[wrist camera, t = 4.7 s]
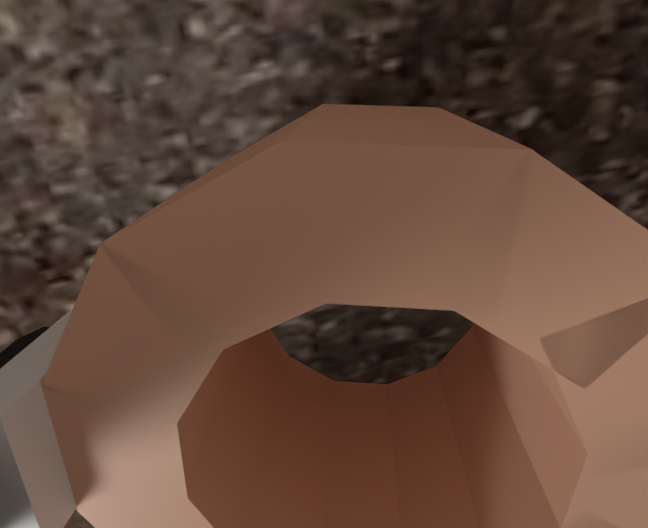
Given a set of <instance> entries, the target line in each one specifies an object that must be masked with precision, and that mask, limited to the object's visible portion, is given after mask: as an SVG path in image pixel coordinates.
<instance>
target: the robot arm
mask: <svg viewBox="0 0 648 528" xmlns="http://www.w3.org/2000/svg"><path fill="white" fill-rule="evenodd" d="M72 310H73V309H72ZM72 310H70V311H69V312H68V313H67V314H66V315H64V316H63V317H62V318H61V319H60V320H58V321H57V322H56V323H55V324H54V325H52V326H51V327H42V328H40V329H38V330H36V331H34V332H32V333H30V334H28V335H26V336H24V337H22V338H20V339H18V340H16V341H15V342H14V343H12V344H11V345H10V346H9V347H7V348H6V349H5V350H3V351H2V352H1V353H0V528H64V526H65V524H66V523H67V521H68V520H69V518H70V517H71V515H72V514H73V512H74V511H75V509H76V507H77V506H76V503H75V499H74V496H73V492H72V489H71V486H70V482H69V479H68V475H67V472H66V468H65V465H64V462H63V458H62V455H61V451H60V448H59V445H58V441H57V438H56V434H55V431H54V428H53V424H52V421H51V417H50V414H49V410H48V407H47V404H46V400H45V397H44V393H43V390H42V387H41V384H42V382H43V380H44V377H45V375H46V372H47V370H48V368H49V365H50V363H51V360H52V358H53V356H54V353H55V351H56V348H57V346H58V344H59V341H60V339H61V336H62V334H63V332H64V329H65V327H66V324H67V322H68V320H69V317H70V315H71V312H72Z"/></svg>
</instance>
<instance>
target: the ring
mask: <svg viewBox="0 0 648 528" xmlns="http://www.w3.org/2000/svg"><path fill="white" fill-rule="evenodd" d="M326 303H327V304H345V305H362V306H380V307H398V308H415V309H433V310H451V311H455V312H457V313H459V314H460V315H462V316H464V317H465V318H467V319H469V320H470V321H472V327H471V328H470V329H469V330H468V332H467V333H466V334H465V335H464V336H463V337H462V338H461V339H460V340H459V342H458V343H457V344H456V345H455V346H454V347H453V348H452V349H451V350H450V351H449V353H448V354H447V355H446V356H445V357H444V358H443V359H442V360H441V361H440V362H439V364H438V365H437V366H434V367H432V368H429V369H427V370H424V371H421V372H419V373H416V374H413V375H411V376H408V377H405V378H403V379H400V380H397V381H395V382H392V383H389V384H373V383H358V382H343V381H334V380H332V379H330V378H328V377H326V376H324V375H323V374H321V373H319V372H317V371H315V370H313V369H312V368H310V367H308V366H306V365H304V364H302V363H301V362H299V361H297V360H295V359H293V358H291V357H290V356H289V355H288V354H287V352H286V351H285V349H284V348H283V346H282V345H281V343H280V342H279V340H278V339H277V337H276V336H275V334H274V333H273V331H272V330H271V328H272V327H275V326H277V325H279V324H281V323H284V322H286V321H288V320H290V319H293V318H295V317H297V316H299V315H302V314H304V313H306V312H308V311H311V310H313V309H315V308H317V307H319V306H322V305H324V304H326ZM41 387H42V390H43V393H44V397H45V400H46V404H47V407H48V410H49V414H50V417H51V421H52V424H53V428H54V431H55V434H56V438H57V441H58V445H59V448H60V451H61V455H62V458H63V462H64V465H65V468H66V472H67V475H68V479H69V482H70V486H71V489H72V492H73V496H74V499H75V503H76V506H77V507H76V508H77V511H78V512H79V513H80V514H81V515H82V516H83V517H84V518H85V519H86V520H87V521H88V522H90V523H91V524H92V525H93V526H94V527H95V528H648V230H647V229H646V228H644V227H643V226H641V225H640V224H638V223H637V222H636V221H634V220H633V219H631V218H630V217H628V216H627V215H625V214H624V213H623V212H621V211H620V210H618V209H617V208H615V207H614V206H613V205H611V204H610V203H608V202H607V201H605V200H604V199H602V198H601V197H600V196H598V195H597V194H595V193H594V192H592V191H591V190H590V189H588V188H587V187H585V186H584V185H582V184H581V183H579V182H578V181H577V180H575V179H574V178H572V177H571V176H569V175H568V174H566V173H565V172H564V171H562V170H561V169H559V168H558V167H556V166H555V165H554V164H552V163H551V162H549V161H548V160H546V159H545V158H543V157H542V156H541V155H539V154H538V153H536V152H535V151H533V149H531V148H528V147H526V146H524V145H522V144H519V143H517V142H515V141H513V140H511V139H508V138H506V137H504V136H502V135H499V134H497V133H495V132H493V131H490V130H488V129H486V128H484V127H482V126H479V125H477V124H475V123H473V122H470V121H468V120H466V119H464V118H462V117H459V116H457V115H455V114H453V113H450V112H448V111H446V110H444V109H442V108H439V107H410V106H377V105H344V104H322V105H320V106H318V107H317V108H315V109H313V110H312V111H310V112H308V113H306V114H305V115H303V116H301V117H299V118H298V119H296V120H294V121H292V122H291V123H289V124H287V125H286V126H284V127H282V128H280V129H279V130H277V131H275V132H273V133H272V134H270V135H268V136H266V137H265V138H263V139H261V140H259V141H258V142H256V143H254V144H253V145H251V146H249V147H247V148H246V149H244V150H242V151H240V152H239V153H237V154H235V155H233V156H232V157H230V158H228V159H227V160H225V161H224V162H222V163H221V164H219V165H218V166H216V167H215V168H213V169H212V170H210V171H209V172H207V173H206V174H204V175H203V176H201V177H200V178H198V179H197V180H195V181H194V182H192V183H191V184H189V185H188V186H186V187H184V188H183V189H181V190H180V191H178V192H177V193H175V194H174V195H172V196H171V197H169V198H168V199H166V200H165V201H163V202H162V203H160V204H159V205H157V206H156V207H154V208H153V209H151V210H150V211H148V212H147V213H145V214H144V215H142V216H141V217H139V218H138V219H136V220H135V221H133V222H132V223H130V224H129V225H127V226H126V227H124V228H123V229H121V230H120V231H118V232H117V233H115V234H114V235H112V236H111V237H109V238H108V239H106V240H105V241H103V242H102V243H100V245H99V248H98V250H97V253H96V255H95V257H94V260H93V262H92V265H91V267H90V269H89V272H88V274H87V277H86V279H85V281H84V284H83V286H82V289H81V291H80V293H79V296H78V298H77V301H76V303H75V305H74V308H73V310H72V312H71V315H70V317H69V320H68V322H67V324H66V327H65V329H64V332H63V334H62V336H61V339H60V341H59V344H58V346H57V348H56V351H55V353H54V356H53V358H52V360H51V363H50V365H49V368H48V370H47V372H46V375H45V377H44V380H43V382H42V384H41Z"/></svg>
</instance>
